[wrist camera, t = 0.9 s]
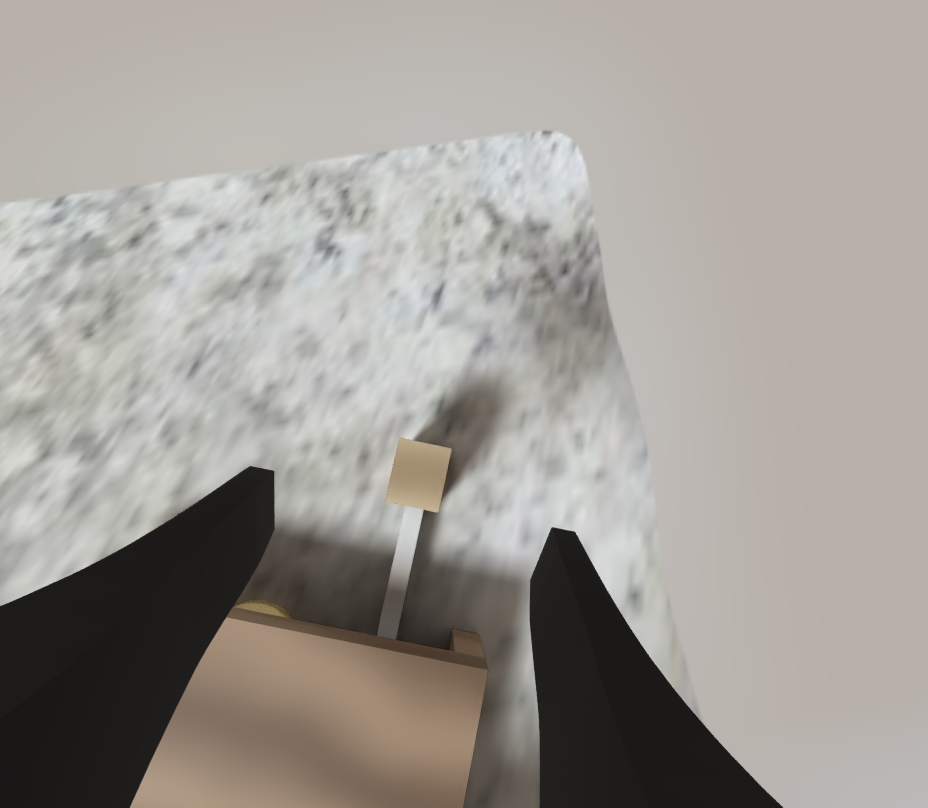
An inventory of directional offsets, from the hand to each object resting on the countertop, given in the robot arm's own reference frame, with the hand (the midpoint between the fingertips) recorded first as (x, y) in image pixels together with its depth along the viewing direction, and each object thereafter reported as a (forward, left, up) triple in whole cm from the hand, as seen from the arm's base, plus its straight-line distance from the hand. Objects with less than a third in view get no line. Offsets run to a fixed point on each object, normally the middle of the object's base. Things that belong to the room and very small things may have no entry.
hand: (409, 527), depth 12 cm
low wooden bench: (-12, +5, -15) cm, 20 cm away
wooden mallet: (-4, +1, -16) cm, 16 cm away
